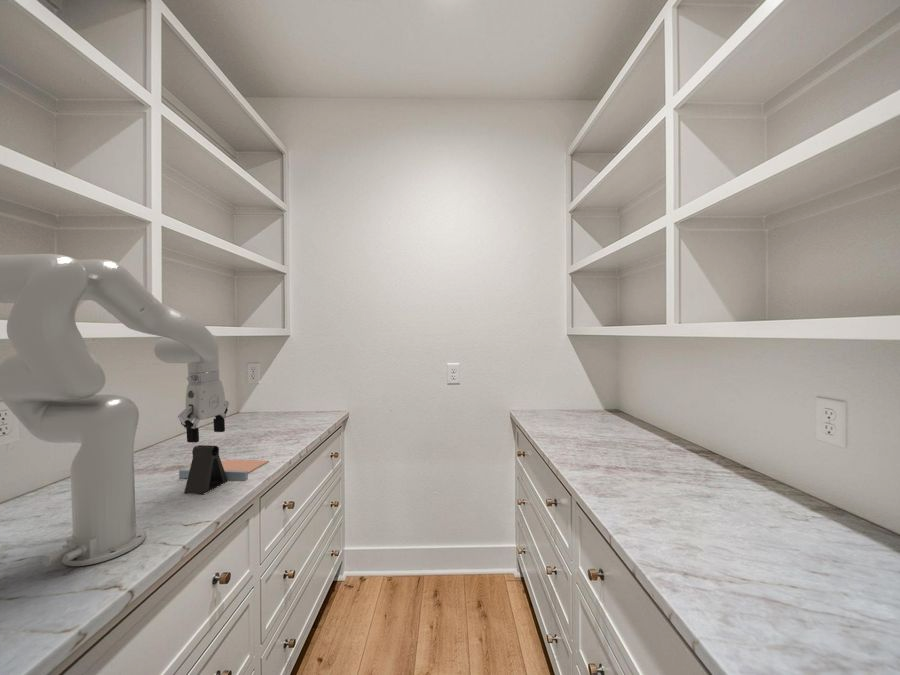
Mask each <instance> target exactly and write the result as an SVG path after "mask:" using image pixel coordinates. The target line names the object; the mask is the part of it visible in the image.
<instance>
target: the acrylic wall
mask: <svg viewBox="0 0 900 675" xmlns="http://www.w3.org/2000/svg"><path fill="white" fill-rule="evenodd" d="M189 471H190V468H182V469H179V470H178V478H188V475H189ZM224 471H225V474H226V477H227V480H228V481H236V480H240V482H244V481H247V480H249V475H248V474H249V473H248V471H231V470H224Z"/></svg>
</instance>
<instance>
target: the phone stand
mask: <svg viewBox="0 0 900 675" xmlns="http://www.w3.org/2000/svg"><path fill="white" fill-rule="evenodd" d="M191 453H192V459H191V463H190V468H189V469H190V471H189V475H188V479H186V485H185V487H184V492H183V493H184V494H188V493H196V494H195V495H205V494H204V493H206V492H208V491H210V490H211V491H213V490H215V489H216V487H217V486H219V487H221V486H222V485H221V484H223V483H224V484H226V483H228V481H229V480H227V477H226V474H225V471H224V468H223V465H222V463H221V462H222V461H221V457H220V447H219V446H217V445H202V444H201V445H200V444H199V445H196V446H194V447H192V452H191ZM225 482H226V483H225ZM224 484H223V485H224ZM220 485H221V486H220ZM214 488H215V489H214ZM217 488H218V487H217ZM212 489H213V490H212ZM211 491H210V492H211ZM208 493H209V492H208ZM206 494H207V493H206Z"/></svg>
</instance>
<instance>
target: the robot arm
mask: <svg viewBox="0 0 900 675" xmlns="http://www.w3.org/2000/svg"><path fill="white" fill-rule="evenodd" d="M80 301H91V302H92V301H93V302H95V303H97V305H99V306H100V307H101V308H103V309H104V310H106V311H107V312H108V313H109V314H110V315H111V316H113V317H114V318H115V319H116V320H118V321H119V322H120V323H121V324H122V325H124V326H125V327H127V328H128V329H130V330H132V331H135V332H138V333H139V332H140V333H143V334H147V335H151V336H156V337H157V336H158V337H161V338H159V340H158V341H156V343H155V344H154V346H153V347H154V348H153V349H154V350H153V351H154V352H153V353H154V355H155V357H156V358H157V359H158V360H159V361H161V362H163V363H167V364H187V365H186V366H187V377H186V380H187V382H188V383H187V386H186V392H185V409H183V410H182V411H181V412H180V413H179V414H178V416H177V418H178V420H179V421H180V425H182V426H183V428H184V429H186V442H187V443H193V444H196V443H199V442H200V433H199V430H200V429H199V427H197V426H198V425H199V423H200V421H201V420H207V419H211V418H213V432H214V433H224V432H225V431H226V426H225V419H226V417H227V413H228V411H229V410H228V408H229V405H230V401H228V400H226V396H225V389H224V386H223V382H222V380H220V379H221V378H220V361H219V359H220V358H219V355H220V354H219V339H218V337H217V336H216V335H214V334H213V333H211V331H210V330H209V329H208V328H207V326H205V325H204V324H203V323H202V322H200V321H199V320H197V319H196V318H194V317H192V316H190V315H188V314H185V313H183V312H181V311H179V310H177V309H176V308H175V309H174V308H172V307H170V306H168V305H165V304H163V303H162V302H161V301H159V300H158V299H157V297H155V296H154V294H152V293H151V292H150V291H149V290H148V289H147V288H146V287H145V286H144V285H143V284H142V283H141V282H140V281H139V280H138V279H137V278H136V277H135V276H134V275H133V274H132V273H131V272H130V271H129V270H128V269H127V268H125V267H124V266H123V265H121V264H120V263H119V262H116V261H114V260H110V259H102V258H101V259H99V258H95V259H94V258H93V259H91V258H89V259H87V258H86V259H76V258H74V257H71V256H68V255H64V254H58V253H24V254H0V303H1V304H13V305H12V307H11V310H10V312H9V314H8V317H7V322H6V334H7V338H8V340H9V342H10V344H11V346H12V347H13V349H14V351H15V352H16V354H13V355H11V356H7V357H6V358H5V359H3V360H2V361H1V362H0V400H1V401H2V402H3V403H4V405H5V406H6V407H7V408H8V409H9V410H10V411H11V413H12V415H14V416H15V418H16V419H18V421H19V422H20V423H21V425H23V427H24V428H25V429H26V430H27V431H28V432H29V433H30V434H31V435H32V436H34V437H35V438H36V439H38V440H40V441H42V442H46V443H53V444H55V443H56V444H59V443H61V444H64V443H65V444H66V443H67V444H68V443H78V444H81V445H80V447H79V449H78V450H77V452H76V454H75V456H74V457H73V460H72V462H71V466H70V490H71V492H70V497H71V498H70V499H71V520H72V521H71V522H72V523H71V525H72V535H71V536H69V537H67V538H66V539H65V541H66V542H65V544H64V545H63V546H62V547H61V548H60V549H58V550H56V551H55V550H54V551H53V552H51V553H49V554H47V555H45V556H44V557H42V561H41V562H42V565H43V566H44V567H50V566H52V565H54V564H56V563H58V562H59V561H61V562H62V564H64V565H65V566H69V567H84V566H85V567H86V566H89V565H90V566H91V565H95V564H98V563H103V562H107V561H109V560H111V559H115V558H117V557H120V556H121V555H125V554H126V553H128V552H130V551H132V550H134V549H135V548H136V547H139V545H141V544H142V543H143V542H144V541H145V539H146V535H147V533H146V530H145V529H144V528H143V527H138V526H137V515H136V486H135V485H136V482H135V453H134V452H135V438H136V435H137V434H136V433H137V429H138V423H139V419H140V418H139V417H140V414H139V413H140V412H139V408H138V406H137V405H136V403H135V402H134V401H133V400H131V399H130V398H128V397H125V396H122V395H117V394H99V392H102V390H103V388H104V386H105V384H106V374H105V372H104V369H103V368H102V365H101V364H100V363H99V361H98V359H97V358H96V355H94V353H93V351H92V350H91V349H90V346H89V345H88V344H87V342H86V341H85V338H84V337H83V335H82V334H81V332H80V330H79V329H78V327H77V323H76V312H77V308H78V305H79V304H80V303H79V302H80Z"/></svg>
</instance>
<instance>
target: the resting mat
mask: <svg viewBox="0 0 900 675" xmlns="http://www.w3.org/2000/svg"><path fill="white" fill-rule="evenodd" d="M269 462H270V461H269V460H257V459H256V460H255V459H253V460H252V459H251V460H250V459H225V460H223V461H221V463H222V465H223V468H224V470H231V471H248V474H251V473H252V472H254V471H255V470H257V469H259V468H261V467H263V466H265V465H266V464H268V463H269Z"/></svg>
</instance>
